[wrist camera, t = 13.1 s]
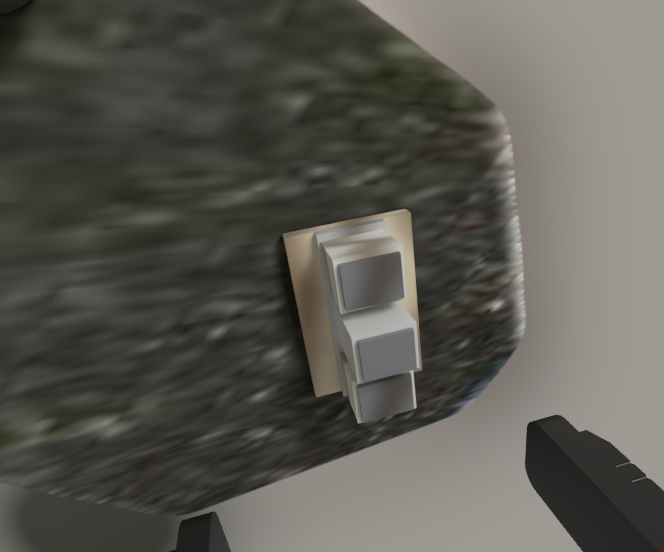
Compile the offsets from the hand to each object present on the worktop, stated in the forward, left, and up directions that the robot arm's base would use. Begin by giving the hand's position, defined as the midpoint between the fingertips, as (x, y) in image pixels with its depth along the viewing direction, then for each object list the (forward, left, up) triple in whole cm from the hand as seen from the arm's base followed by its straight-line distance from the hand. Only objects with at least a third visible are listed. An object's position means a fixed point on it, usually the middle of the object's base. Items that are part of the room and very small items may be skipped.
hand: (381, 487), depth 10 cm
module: (+6, -11, -28) cm, 30 cm away
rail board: (+6, -11, -30) cm, 33 cm away
